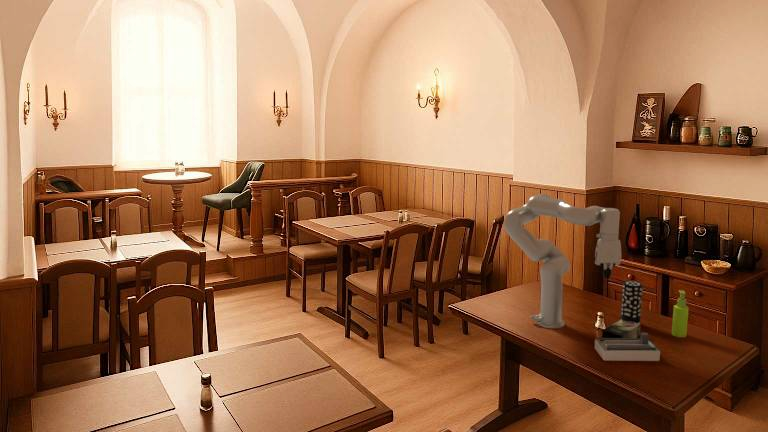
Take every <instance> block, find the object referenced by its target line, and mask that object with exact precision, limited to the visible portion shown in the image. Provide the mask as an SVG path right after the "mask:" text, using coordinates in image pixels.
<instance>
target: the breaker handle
mask: <svg viewBox="0 0 768 432" xmlns="http://www.w3.org/2000/svg"><path fill="white" fill-rule="evenodd" d="M639 338H640V344H648V341H650V340H649V338H650V335H649V333H648V332H640V336H639Z"/></svg>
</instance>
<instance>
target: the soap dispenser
mask: <svg viewBox="0 0 768 432" xmlns="http://www.w3.org/2000/svg"><path fill="white" fill-rule="evenodd" d="M678 292H679V298H677V303H676V304H675V305H673V313H672V322H671V323H672V324H671V335H672V336H673V337H677V338H686V337H687V331H688V321H689V320H688V319H689V312H690V311H689V309H690V308H689V306H687V305H686V304H687V299H686V298H685V295H686V291H685V290H680V289H679V290H678Z"/></svg>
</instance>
